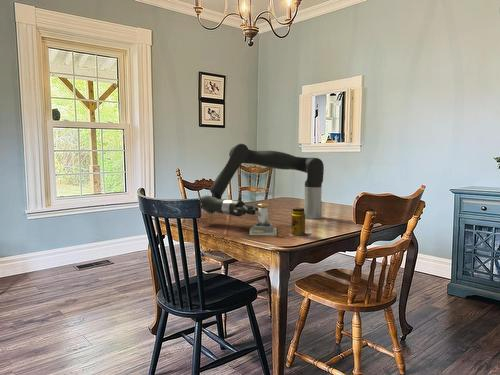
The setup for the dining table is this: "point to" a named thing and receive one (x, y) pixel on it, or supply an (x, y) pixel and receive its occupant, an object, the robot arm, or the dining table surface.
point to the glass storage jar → (262, 214)
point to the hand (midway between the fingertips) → (260, 211)
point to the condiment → (298, 223)
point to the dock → (263, 230)
